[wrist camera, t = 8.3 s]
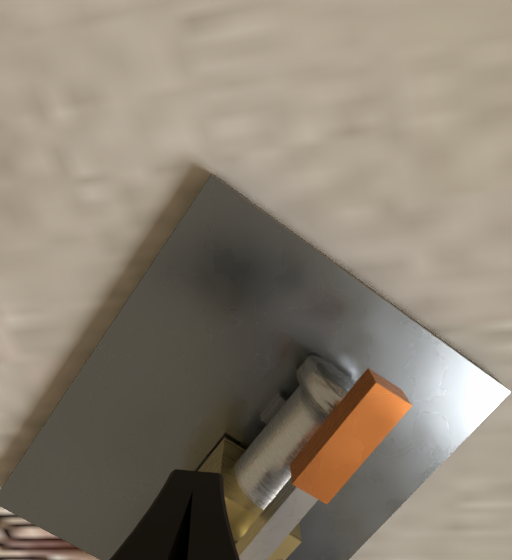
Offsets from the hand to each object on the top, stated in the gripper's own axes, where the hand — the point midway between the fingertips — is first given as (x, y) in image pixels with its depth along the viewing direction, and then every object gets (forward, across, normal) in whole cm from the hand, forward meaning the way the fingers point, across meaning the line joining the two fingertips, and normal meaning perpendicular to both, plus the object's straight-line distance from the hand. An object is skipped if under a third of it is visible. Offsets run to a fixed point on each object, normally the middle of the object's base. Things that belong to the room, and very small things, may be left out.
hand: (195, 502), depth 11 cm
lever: (+5, -4, +3) cm, 7 cm away
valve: (+10, -1, +5) cm, 12 cm away
